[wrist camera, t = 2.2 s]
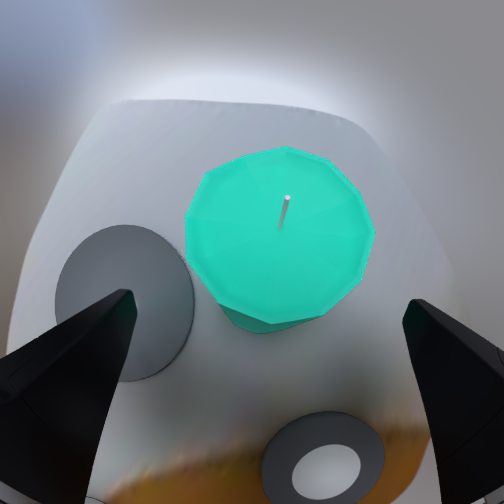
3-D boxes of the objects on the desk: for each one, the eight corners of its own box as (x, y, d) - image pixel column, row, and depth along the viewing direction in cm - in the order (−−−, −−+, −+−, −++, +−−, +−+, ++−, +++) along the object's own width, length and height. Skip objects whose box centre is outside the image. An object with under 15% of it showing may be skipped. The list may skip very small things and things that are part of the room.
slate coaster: (209, 369, 17) (208, 371, 16) (71, 383, 16) (65, 384, 15) (181, 214, 20) (179, 209, 19) (59, 246, 19) (54, 243, 18)
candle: (310, 250, 19) (382, 133, 8) (304, 338, 17) (398, 327, 6) (224, 240, 19) (196, 108, 8) (211, 328, 17) (145, 301, 6)
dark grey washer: (377, 481, 14) (389, 492, 12) (274, 514, 13) (276, 529, 11) (364, 395, 16) (377, 400, 14) (248, 429, 15) (248, 439, 13)
